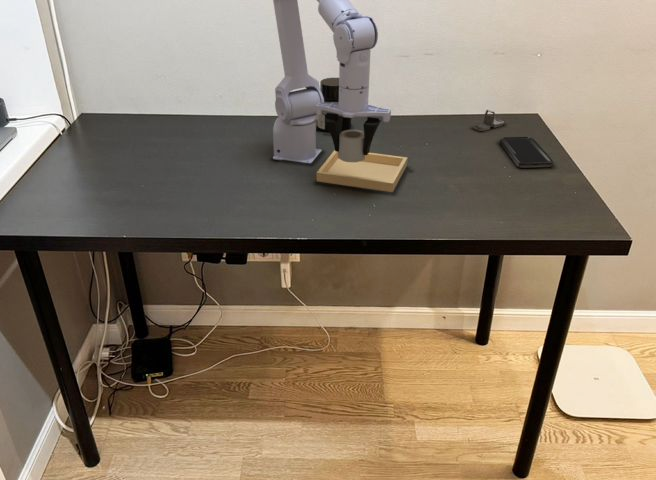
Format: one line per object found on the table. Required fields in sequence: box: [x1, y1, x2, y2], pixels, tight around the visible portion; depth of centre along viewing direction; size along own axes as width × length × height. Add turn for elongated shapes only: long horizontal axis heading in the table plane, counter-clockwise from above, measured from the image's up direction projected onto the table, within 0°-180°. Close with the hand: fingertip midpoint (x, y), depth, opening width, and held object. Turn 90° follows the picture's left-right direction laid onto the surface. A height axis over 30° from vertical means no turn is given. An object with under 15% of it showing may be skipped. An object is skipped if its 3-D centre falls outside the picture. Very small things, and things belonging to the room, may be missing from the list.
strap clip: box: [472, 109, 505, 132], centre depth 163 cm, size 8×3×4 cm, turn 122°
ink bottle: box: [316, 77, 352, 134], centre depth 162 cm, size 10×9×12 cm
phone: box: [499, 136, 554, 169], centre depth 149 cm, size 8×1×15 cm
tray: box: [316, 149, 408, 193], centre depth 141 cm, size 17×14×3 cm
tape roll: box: [339, 129, 366, 162], centre depth 130 cm, size 5×5×5 cm
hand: (352, 151), depth 131 cm, fingers closed on tape roll, 5 cm apart
